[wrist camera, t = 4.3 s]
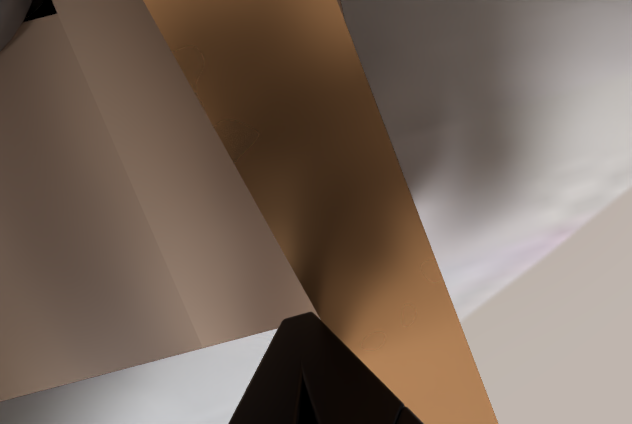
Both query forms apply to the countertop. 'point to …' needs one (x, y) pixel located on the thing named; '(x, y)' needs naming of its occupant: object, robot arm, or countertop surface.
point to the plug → (14, 16)
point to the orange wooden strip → (329, 188)
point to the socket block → (120, 207)
